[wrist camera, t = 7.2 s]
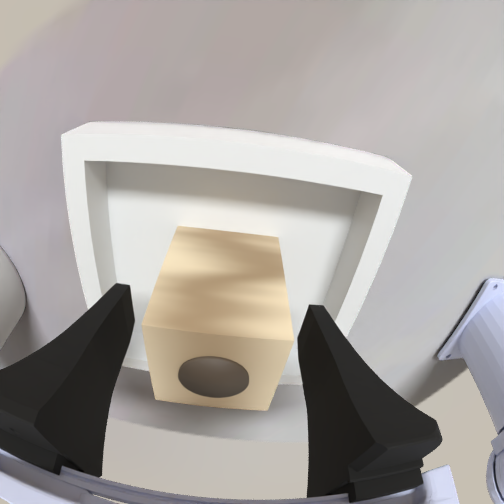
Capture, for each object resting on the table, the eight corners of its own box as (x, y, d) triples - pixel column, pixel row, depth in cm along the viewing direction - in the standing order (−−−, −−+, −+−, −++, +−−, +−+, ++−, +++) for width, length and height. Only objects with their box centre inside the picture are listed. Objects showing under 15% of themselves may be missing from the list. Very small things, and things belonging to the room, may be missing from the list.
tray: (386, 156, 12) (412, 176, 10) (314, 353, 19) (320, 384, 17) (90, 121, 11) (61, 135, 9) (115, 332, 18) (104, 362, 16)
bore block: (278, 237, 14) (294, 344, 9) (262, 310, 16) (267, 413, 11) (177, 225, 14) (140, 328, 8) (177, 300, 16) (154, 402, 11)
